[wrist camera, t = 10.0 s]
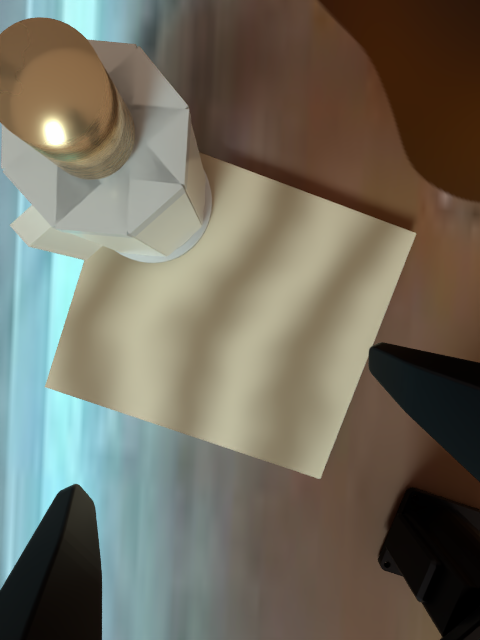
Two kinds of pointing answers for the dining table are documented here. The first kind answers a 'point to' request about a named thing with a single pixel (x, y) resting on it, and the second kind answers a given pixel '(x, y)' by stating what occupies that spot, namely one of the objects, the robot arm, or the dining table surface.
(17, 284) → the dining table surface
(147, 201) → the white faceted container
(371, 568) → the dining table surface
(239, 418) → the birch board
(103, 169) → the plunger
